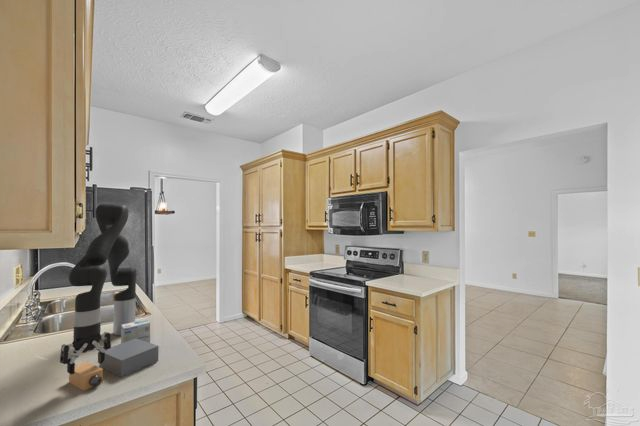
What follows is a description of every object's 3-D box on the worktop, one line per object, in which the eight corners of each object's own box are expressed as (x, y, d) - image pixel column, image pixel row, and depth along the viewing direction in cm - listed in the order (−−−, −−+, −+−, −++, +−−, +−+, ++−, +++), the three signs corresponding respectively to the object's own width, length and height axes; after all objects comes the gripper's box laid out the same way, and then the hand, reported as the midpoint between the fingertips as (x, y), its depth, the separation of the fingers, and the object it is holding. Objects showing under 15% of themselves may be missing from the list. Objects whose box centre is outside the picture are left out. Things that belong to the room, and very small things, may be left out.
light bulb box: (146, 341, 137) (147, 318, 138) (150, 345, 133) (151, 322, 133) (120, 348, 130) (120, 324, 130) (123, 353, 125) (123, 328, 125)
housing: (69, 382, 102) (69, 368, 103) (87, 375, 107) (87, 361, 107) (87, 392, 96) (87, 377, 96) (105, 384, 101) (105, 370, 101)
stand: (99, 366, 113) (99, 351, 114) (136, 352, 126) (136, 338, 126) (121, 376, 106) (121, 360, 106) (158, 360, 118) (158, 345, 118)
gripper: (104, 314, 111) (103, 357, 110) (57, 326, 98) (56, 375, 98) (115, 317, 107) (114, 362, 107) (67, 330, 95) (66, 380, 94)
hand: (86, 368), depth 102 cm, fingers open, 8 cm apart
